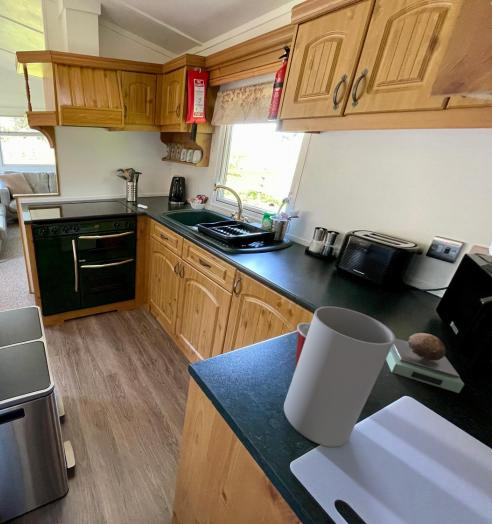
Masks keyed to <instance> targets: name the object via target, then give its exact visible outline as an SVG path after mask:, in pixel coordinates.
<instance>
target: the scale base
mask: <svg viewBox="0 0 492 524" xmlns="http://www.w3.org/2000/svg"><path fill="white" fill-rule="evenodd" d="M385 361H386V363H387V365H388V367H389V371H390V372H391V374H392V373H393V374H397V375H399V376H401V377H402V376H403V377H406V378H408V379H412V380H415V381H417V382H422V383H425V384H428V385H431V386H435V387H437V388H441V389H444V390H447V391H451V392H454V393H457V394H460V393H461V391H462V389H463V388H464V386H465V383H464V382H463V380H462V379H461V377H459V378H455V377H452V376H448V375H445V374H441V373H438V372H435V371H431V370H428V369H424V368H421V367H418V366H414V365H411V364H407V363H404V362H401V361H400V360H399V358H398V356H397V354H396V352H395V350H394V348H393V346H392V347H391V349H390V352H389V354H388V356H387V358H386V360H385Z"/></svg>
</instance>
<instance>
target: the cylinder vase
mask: <svg viewBox="0 0 492 524" xmlns="http://www.w3.org/2000/svg"><path fill="white" fill-rule="evenodd" d="M310 323H311V325H310V328H309V331H308V334H307V337H306V340H305V343H304V346H303V349H302V352H301V355H300V358H299V361H298V364H297V367H296V366H295V370H294V373H293V376H292V380H291V382H290V385H289V387H288V391H287V395H286V397H285V399H284V404H283V411H284V414H285V417H286V419H287V421H288V423H290V425H291V426H292V427H293V429H294V430H296V432H298V433H299V434H300V435H302V436H303V437H305V438H306V439H308V440H309V441H312V442H313V443H316V444H318V445H321V446H324V447H341V446H342V445H345V444H346V443H347V442H348V440H349V439H350V436H351V435H352V432H353V431H354V428H355V426H356V424H357V422H358V420H359V417H360V415H361V413H362V411H363V409H364V407H365V405H366V403H367V400H368V398H369V397H370V394H371V392H372V390H373V388H374V385H375V384H376V382H377V379H378V377H379V374H381V370H382V369H383V366H384V365H385V362H386V361H387V360H386V358H387V356H388V354H389V352H390V349H391V347H392V345H393V343H394V341H395V338H396V335H395V334H394V332H393V331H392V329H390V328H389V327H388V326H387V325H386V324H384V323H382V322H380V321H379V320H377V319H375V318H373V317H371V316H369V315H366V314H364V313H362V312H359V311H356V310H352V309H349V308H344V307H339V306H321V307H318V308H317V309H315V310H314V313H313V316H312V319H311V322H310Z"/></svg>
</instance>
